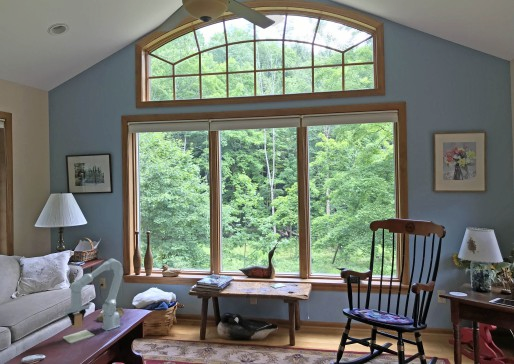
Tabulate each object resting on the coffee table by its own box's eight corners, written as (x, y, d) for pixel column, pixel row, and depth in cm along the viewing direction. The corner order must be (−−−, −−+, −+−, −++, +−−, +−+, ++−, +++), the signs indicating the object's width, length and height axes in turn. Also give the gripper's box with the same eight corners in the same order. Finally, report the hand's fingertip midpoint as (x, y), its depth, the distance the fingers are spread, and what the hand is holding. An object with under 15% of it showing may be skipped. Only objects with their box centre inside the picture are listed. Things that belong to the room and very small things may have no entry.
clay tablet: (113, 311, 271) (94, 321, 252) (113, 304, 271) (94, 313, 252) (130, 313, 267) (111, 323, 248) (130, 306, 267) (111, 316, 248)
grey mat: (86, 330, 236) (86, 329, 236) (94, 335, 228) (94, 334, 228) (62, 337, 226) (62, 336, 226) (70, 343, 218) (70, 342, 218)
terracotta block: (79, 325, 231) (79, 312, 231) (82, 327, 228) (82, 314, 228) (72, 327, 228) (72, 314, 228) (75, 329, 225) (74, 316, 225)
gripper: (66, 306, 220) (67, 328, 220) (90, 299, 231) (91, 321, 231) (62, 303, 225) (62, 325, 225) (86, 297, 235) (86, 318, 236)
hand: (76, 323), depth 228 cm, fingers closed on terracotta block, 4 cm apart
